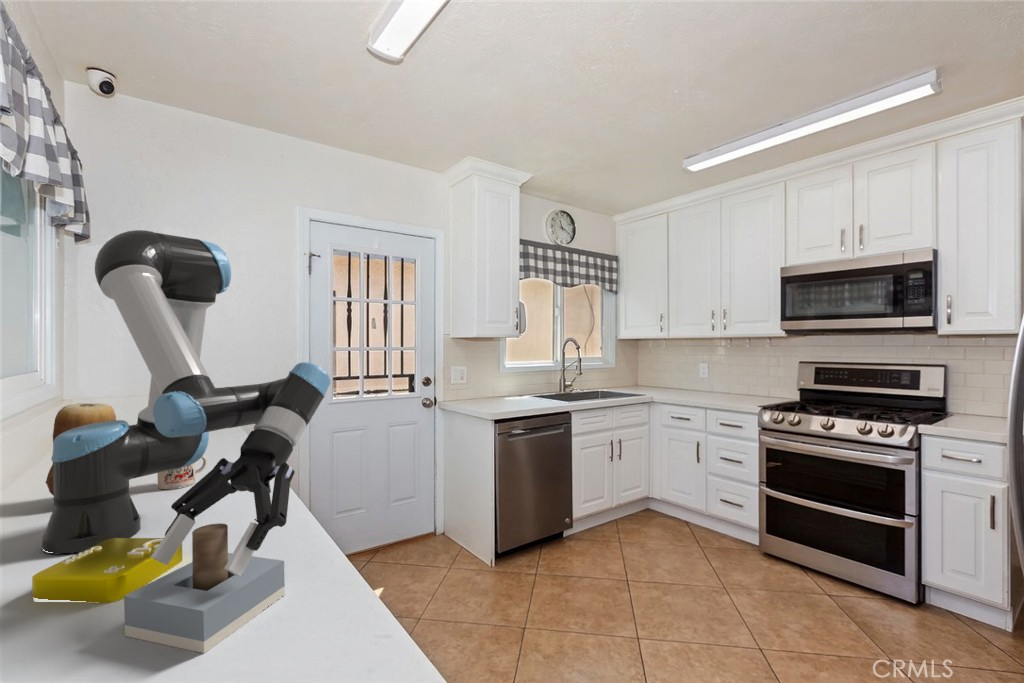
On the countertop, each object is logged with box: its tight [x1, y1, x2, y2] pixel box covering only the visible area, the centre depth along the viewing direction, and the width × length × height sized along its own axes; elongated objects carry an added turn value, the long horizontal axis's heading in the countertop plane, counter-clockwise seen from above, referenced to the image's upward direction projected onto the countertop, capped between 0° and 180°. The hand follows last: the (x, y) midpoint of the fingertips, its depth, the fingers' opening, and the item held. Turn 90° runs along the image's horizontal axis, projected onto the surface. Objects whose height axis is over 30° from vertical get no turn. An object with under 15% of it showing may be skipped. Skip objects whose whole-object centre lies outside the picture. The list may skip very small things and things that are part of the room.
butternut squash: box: [45, 402, 117, 497], centre depth 120 cm, size 14×13×25 cm
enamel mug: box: [157, 455, 208, 490], centre depth 133 cm, size 12×9×12 cm
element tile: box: [31, 537, 183, 604], centre depth 80 cm, size 15×15×5 cm
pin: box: [191, 523, 229, 591], centre depth 69 cm, size 4×4×11 cm
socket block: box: [123, 552, 286, 654], centre depth 69 cm, size 14×14×6 cm
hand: (194, 566), depth 67 cm, fingers open, 13 cm apart
